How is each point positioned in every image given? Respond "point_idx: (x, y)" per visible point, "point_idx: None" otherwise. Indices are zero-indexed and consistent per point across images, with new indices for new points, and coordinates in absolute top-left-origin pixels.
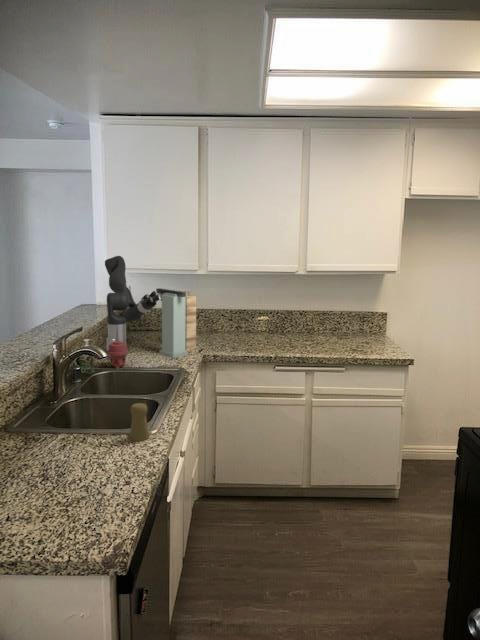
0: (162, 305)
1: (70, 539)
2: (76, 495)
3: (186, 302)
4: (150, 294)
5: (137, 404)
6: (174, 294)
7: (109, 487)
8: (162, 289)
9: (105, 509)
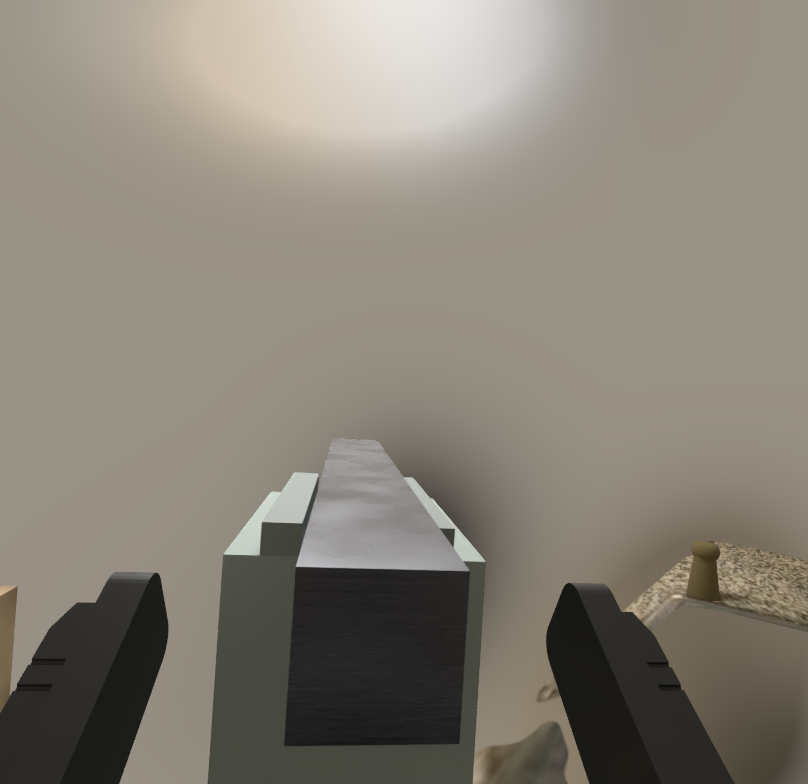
0: (470, 728)
1: (751, 552)
2: (765, 569)
3: (6, 679)
4: (706, 762)
5: (708, 542)
6: (406, 481)
7: (730, 565)
8: (417, 498)
9: (728, 556)
